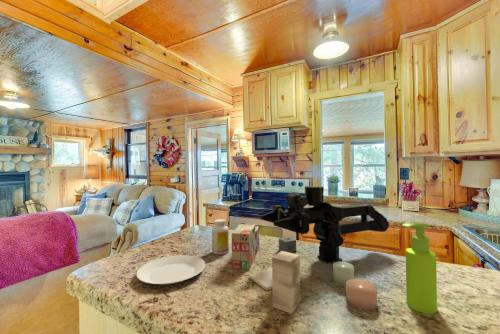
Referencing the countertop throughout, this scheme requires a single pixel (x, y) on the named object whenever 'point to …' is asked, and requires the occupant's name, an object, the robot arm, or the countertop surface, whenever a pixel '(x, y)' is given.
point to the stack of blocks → (244, 246)
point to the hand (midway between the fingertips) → (266, 220)
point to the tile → (263, 278)
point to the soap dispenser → (421, 272)
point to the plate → (171, 269)
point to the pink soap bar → (361, 294)
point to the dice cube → (287, 244)
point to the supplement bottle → (220, 237)
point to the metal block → (286, 281)
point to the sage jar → (342, 273)
